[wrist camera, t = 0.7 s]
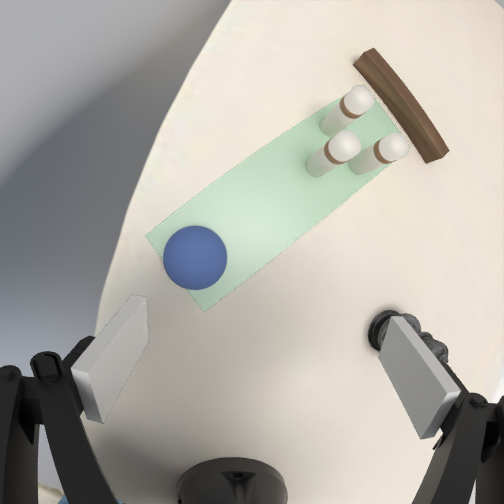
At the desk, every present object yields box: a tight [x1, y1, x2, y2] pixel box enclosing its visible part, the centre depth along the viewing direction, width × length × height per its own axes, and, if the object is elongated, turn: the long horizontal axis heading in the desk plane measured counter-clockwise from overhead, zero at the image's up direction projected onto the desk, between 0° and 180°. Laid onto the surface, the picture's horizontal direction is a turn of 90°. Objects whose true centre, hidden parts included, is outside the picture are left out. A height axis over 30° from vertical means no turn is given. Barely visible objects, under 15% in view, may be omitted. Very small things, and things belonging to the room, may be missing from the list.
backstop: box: [354, 48, 449, 163], centre depth 32 cm, size 2×16×4 cm, turn 37°
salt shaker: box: [368, 310, 448, 363], centre depth 29 cm, size 6×6×12 cm
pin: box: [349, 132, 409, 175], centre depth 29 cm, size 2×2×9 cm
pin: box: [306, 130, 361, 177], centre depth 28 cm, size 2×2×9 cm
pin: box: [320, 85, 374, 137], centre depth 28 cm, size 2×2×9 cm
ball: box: [163, 226, 227, 290], centre depth 29 cm, size 6×6×6 cm
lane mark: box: [145, 85, 410, 312], centre depth 32 cm, size 32×10×1 cm, turn 127°
